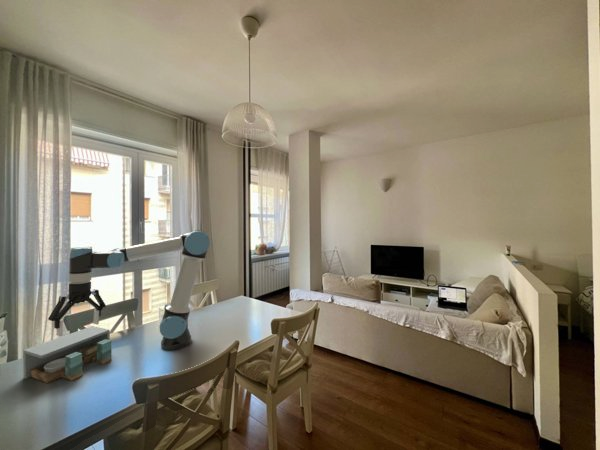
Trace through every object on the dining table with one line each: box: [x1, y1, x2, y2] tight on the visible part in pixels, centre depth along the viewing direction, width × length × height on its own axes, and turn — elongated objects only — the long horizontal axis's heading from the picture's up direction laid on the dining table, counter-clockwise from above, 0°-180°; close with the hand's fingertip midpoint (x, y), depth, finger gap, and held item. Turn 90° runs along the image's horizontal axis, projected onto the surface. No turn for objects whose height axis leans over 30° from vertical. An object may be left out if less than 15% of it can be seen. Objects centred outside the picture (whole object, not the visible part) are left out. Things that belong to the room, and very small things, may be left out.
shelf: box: [22, 325, 111, 379], centre depth 117 cm, size 14×26×12 cm, turn 160°
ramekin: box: [44, 358, 65, 374], centre depth 111 cm, size 9×9×4 cm
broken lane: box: [78, 339, 113, 366], centre depth 122 cm, size 18×9×10 cm, turn 70°
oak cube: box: [80, 345, 97, 356], centre depth 123 cm, size 5×5×5 cm
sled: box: [29, 352, 85, 384], centre depth 110 cm, size 20×13×10 cm, turn 70°
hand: (78, 329), depth 111 cm, fingers open, 13 cm apart
